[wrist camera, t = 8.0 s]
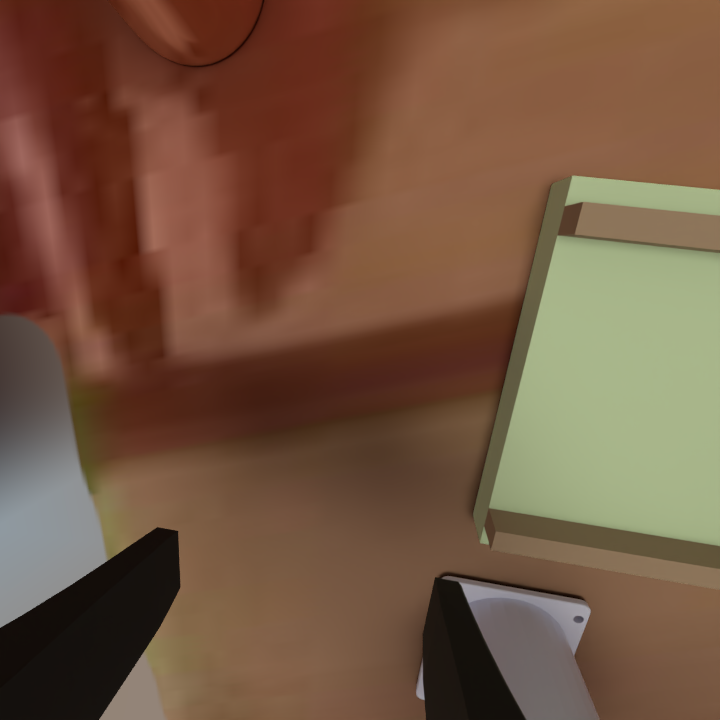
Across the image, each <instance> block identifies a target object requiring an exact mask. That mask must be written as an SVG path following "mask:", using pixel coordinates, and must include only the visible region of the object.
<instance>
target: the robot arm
mask: <svg viewBox="0 0 720 720" xmlns="http://www.w3.org/2000/svg"><path fill="white" fill-rule="evenodd" d="M179 589H180V568H179V545H178V531H175V530H170V529H164V528H158V527H157V528H156V529H154V530H153V531H151V532H150V533H148V534H147V535H145V536H144V537H142V538H141V539H139V540H138V541H136V542H135V543H133V544H132V545H130V546H129V547H127V548H126V549H124V550H123V551H122V552H120V553H119V554H117V555H116V556H114V557H113V558H111V559H110V560H108V561H107V562H105V563H104V564H102V565H101V566H99V567H98V568H96V569H95V570H93V571H92V572H90V573H89V574H87V575H86V576H84V577H83V578H81V579H80V580H78V581H77V582H75V583H74V584H72V585H70V586H69V587H67V588H66V589H64V590H62V591H61V592H59V593H57V594H56V595H54V596H53V597H51V598H49V599H48V600H46V601H45V602H43V603H41V604H40V605H38V606H36V607H35V608H33V609H32V610H30V611H28V612H27V613H25V614H24V615H22V616H20V617H18V618H17V619H15V620H13V621H11V622H10V623H8V624H6V625H4V626H3V627H1V628H0V720H99V719H100V717H101V716H102V714H103V713H104V711H105V710H106V708H107V707H108V705H109V704H110V702H111V701H112V699H113V698H114V696H115V695H116V693H117V692H118V690H119V689H120V687H121V686H122V684H123V682H124V681H125V680H126V678H127V676H128V675H129V673H130V672H131V670H132V668H133V667H134V666H135V664H136V663H137V661H138V660H139V658H140V657H141V655H142V654H143V652H144V651H145V649H146V648H147V646H148V645H149V643H150V641H151V640H152V638H153V637H154V635H155V634H156V632H157V631H158V629H159V627H160V626H161V624H162V622H163V620H164V618H165V616H166V614H167V613H168V611H169V609H170V607H171V605H172V603H173V601H174V599H175V597H176V595H177V593H178V591H179ZM590 613H591V610H590V608H589V606H588V604H587V603H586V602H585V601H584V600H580V599H575V598H569V597H564V596H558V595H553V594H547V593H541V592H536V591H530V590H525V589H519V588H514V587H508V586H502V585H497V584H491V583H486V582H480V581H475V580H469V579H463V578H458V577H452V576H445V577H443V578H436V577H435V580H434V585H433V590H432V594H431V599H430V604H429V608H428V613H427V617H426V622H425V627H424V631H423V658H422V663H421V667H420V672H419V676H418V681H417V685H416V695H417V696H418V697H419V698H420V699H422V700H425V710H426V720H600V719H599V716H598V714H597V712H596V709H595V707H594V704H593V702H592V699H591V697H590V694H589V692H588V689H587V687H586V685H585V682H584V680H583V677H582V675H581V672H580V670H579V667H578V665H577V663H576V660H575V658H574V655H575V652H576V649H577V647H578V644H579V642H580V639H581V636H582V634H583V631H584V629H585V626H586V624H587V621H588V618H589V616H590Z"/></svg>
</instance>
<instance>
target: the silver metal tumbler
mask: <svg viewBox="0 0 720 720" xmlns="http://www.w3.org/2000/svg"><path fill="white" fill-rule="evenodd" d="M107 1H108V2H109V3H110V4H111V5H112V7H113V8H114V9H115V10H116V11H117V13H118V14H119V15H120V16H121V17H122V19H123V20H124V21H125V22H126V23H127V25H128V26H129V27H130V28H131V29H132V30H133V31H134V33H135V34H136V35H137V36H138V37H139V38H140V39H141V40H142V41H143V42H144V43H145V44H146V45H147V46H149V47H150V48H151V49H152V50H153V51H155V52H156V53H158V54H159V55H161V56H162V57H164V58H166V59H168V60H171V61H173V62H176V63H179V64H183V65H189V66H203V65H209V64H212V63H215V62H218V61H220V60H222V59H224V58H226V57H227V56H229V55H230V54H232V53H233V52H234V51H235V50H236V49H237V48H238V47H239V46H240V45H241V44H242V43H243V42H244V41H245V39H246V38H247V37H248V35H249V34H250V32H251V30H252V29H253V27H254V25H255V23H256V20H257V18H258V15H259V13H260V10H261V6H262V2H263V0H107Z"/></svg>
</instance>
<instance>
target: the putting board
mask: <svg viewBox="0 0 720 720" xmlns="http://www.w3.org/2000/svg"><path fill="white" fill-rule="evenodd" d="M473 518H474V522H475V526H476V530H477V534H478V538H479V542H480V543H483V544H489V545H490V549H491V550H492V551H498V552H504V553H510V554H516V555H521V556H527V557H533V558H539V559H544V560H550V561H556V562H562V563H568V564H573V565H579V566H585V567H591V568H596V569H602V570H608V571H614V572H620V573H625V574H631V575H637V576H643V577H649V578H654V579H660V580H666V581H672V582H677V583H683V584H689V585H695V586H701V587H706V588H712V589H718V590H720V190H714V189H704V188H694V187H684V186H673V185H663V184H653V183H643V182H632V181H622V180H612V179H602V178H591V177H581V176H570V177H568V178H566V179H563V180H561V181H558V182H556V183H553V184H552V185H551V189H550V193H549V198H548V202H547V206H546V210H545V214H544V219H543V223H542V227H541V231H540V235H539V239H538V244H537V248H536V252H535V256H534V260H533V265H532V269H531V273H530V277H529V281H528V286H527V290H526V294H525V298H524V302H523V306H522V311H521V315H520V319H519V323H518V327H517V332H516V336H515V340H514V344H513V348H512V353H511V357H510V361H509V365H508V369H507V373H506V378H505V382H504V386H503V390H502V394H501V399H500V403H499V407H498V411H497V415H496V420H495V424H494V428H493V432H492V436H491V440H490V445H489V449H488V453H487V457H486V461H485V466H484V470H483V474H482V478H481V482H480V487H479V491H478V495H477V499H476V503H475V507H474V512H473Z"/></svg>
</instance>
